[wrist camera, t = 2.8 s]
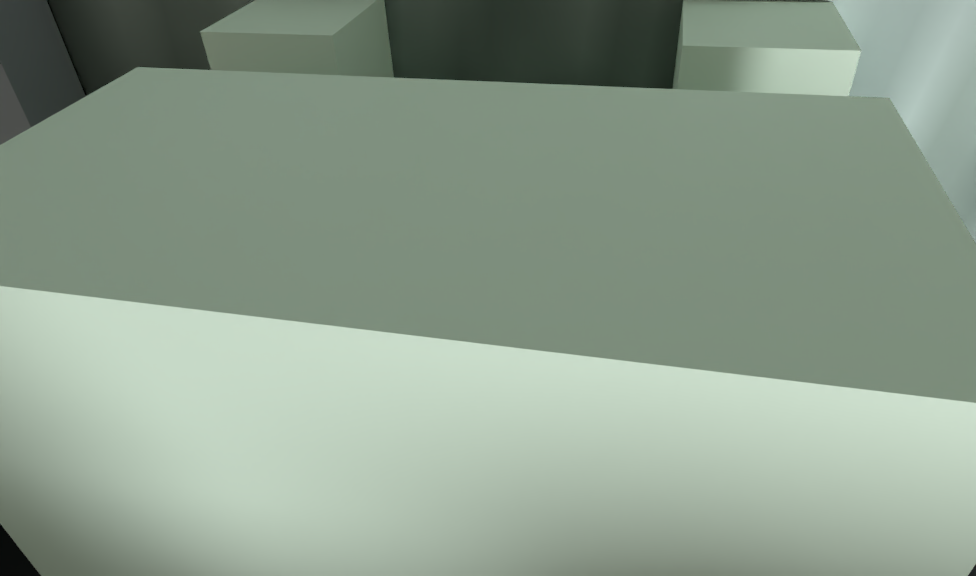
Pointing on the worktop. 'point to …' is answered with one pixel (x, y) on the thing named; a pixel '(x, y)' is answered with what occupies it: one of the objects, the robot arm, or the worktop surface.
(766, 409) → the cabinet block
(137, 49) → the worktop surface
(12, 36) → the cleat board
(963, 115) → the worktop surface
